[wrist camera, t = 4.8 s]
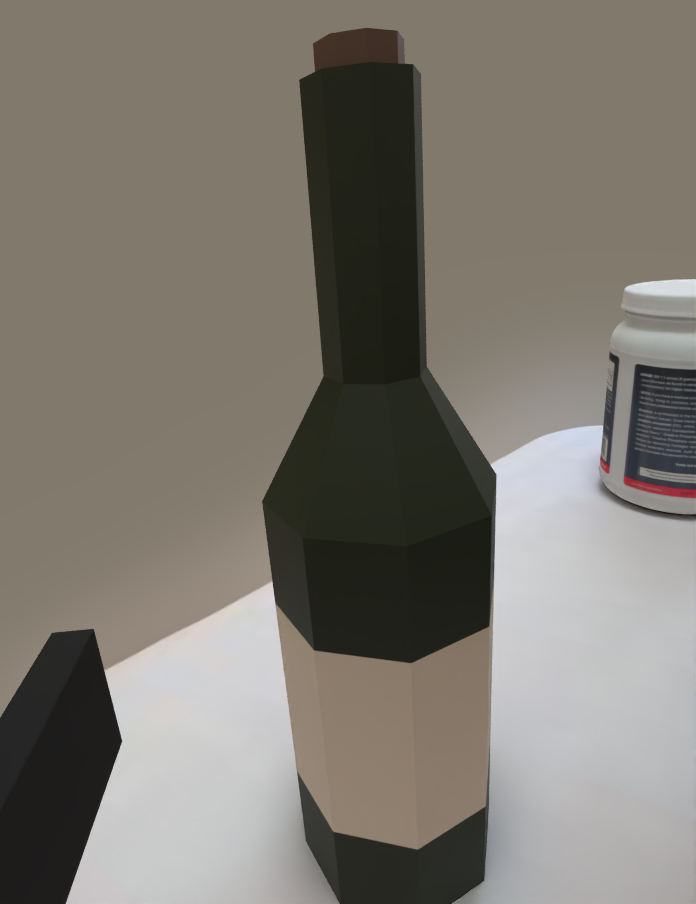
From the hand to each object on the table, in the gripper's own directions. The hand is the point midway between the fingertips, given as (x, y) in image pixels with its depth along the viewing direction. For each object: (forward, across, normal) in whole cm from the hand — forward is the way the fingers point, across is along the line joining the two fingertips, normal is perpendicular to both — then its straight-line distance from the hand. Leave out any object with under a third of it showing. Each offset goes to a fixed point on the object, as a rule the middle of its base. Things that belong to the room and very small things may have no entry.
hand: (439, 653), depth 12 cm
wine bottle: (+10, 0, -18) cm, 20 cm away
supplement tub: (+40, +30, -17) cm, 53 cm away
